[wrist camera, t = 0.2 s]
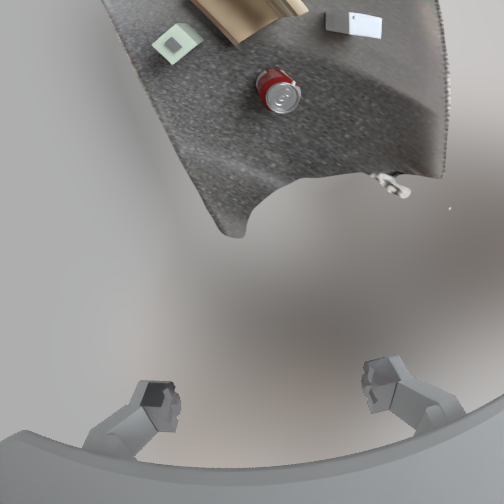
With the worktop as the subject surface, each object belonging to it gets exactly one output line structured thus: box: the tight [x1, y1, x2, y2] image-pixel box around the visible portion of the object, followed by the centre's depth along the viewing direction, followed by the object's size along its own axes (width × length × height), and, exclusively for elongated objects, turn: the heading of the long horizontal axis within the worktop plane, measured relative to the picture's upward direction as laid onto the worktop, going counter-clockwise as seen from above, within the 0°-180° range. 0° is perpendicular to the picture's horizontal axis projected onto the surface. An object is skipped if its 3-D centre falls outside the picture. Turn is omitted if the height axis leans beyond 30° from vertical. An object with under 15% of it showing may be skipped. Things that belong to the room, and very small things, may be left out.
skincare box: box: [326, 12, 382, 39], centre depth 35 cm, size 6×4×12 cm
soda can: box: [256, 68, 301, 114], centre depth 45 cm, size 7×7×12 cm
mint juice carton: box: [152, 23, 204, 65], centre depth 36 cm, size 5×5×13 cm
